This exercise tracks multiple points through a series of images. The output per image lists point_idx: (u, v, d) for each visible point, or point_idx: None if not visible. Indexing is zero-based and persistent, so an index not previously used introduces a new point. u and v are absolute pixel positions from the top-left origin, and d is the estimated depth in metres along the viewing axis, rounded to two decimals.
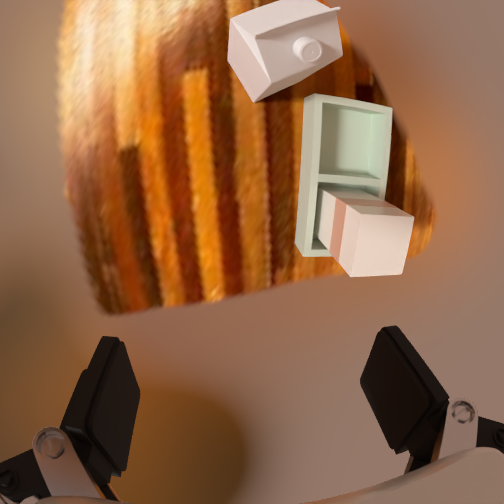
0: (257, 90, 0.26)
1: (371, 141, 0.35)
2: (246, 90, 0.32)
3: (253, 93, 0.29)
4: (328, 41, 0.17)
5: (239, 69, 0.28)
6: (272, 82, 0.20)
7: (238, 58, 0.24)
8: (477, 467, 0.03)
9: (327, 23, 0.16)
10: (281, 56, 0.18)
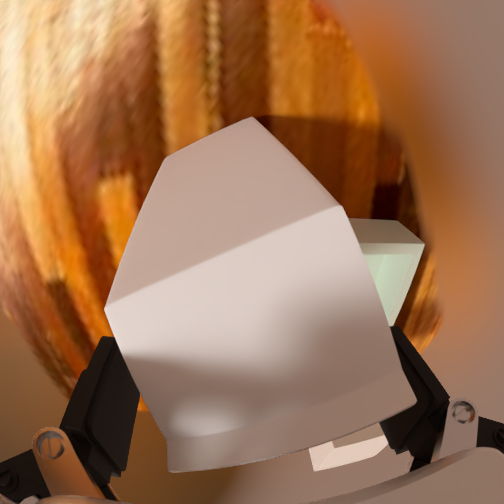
0: None
1: (382, 271, 0.26)
2: None
3: None
4: None
5: None
6: None
7: None
8: (477, 467, 0.03)
9: None
10: None
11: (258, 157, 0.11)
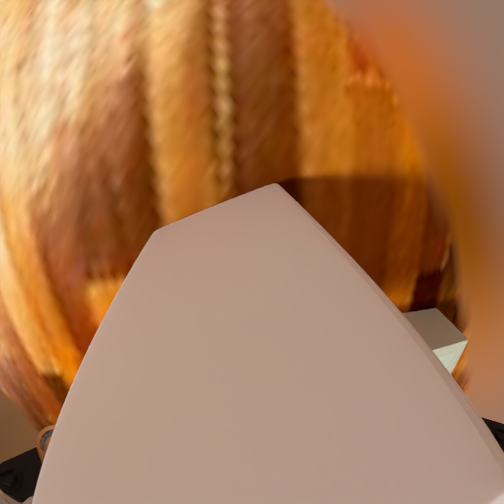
0: None
1: None
2: None
3: None
4: None
5: None
6: None
7: None
8: None
9: None
10: None
11: (303, 277, 0.06)
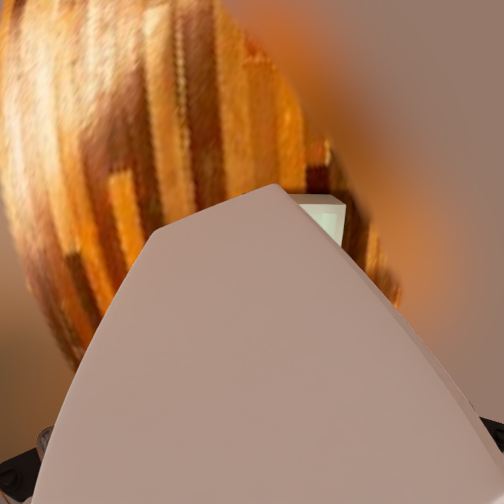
0: None
1: None
2: None
3: None
4: None
5: None
6: None
7: None
8: None
9: None
10: None
11: (302, 278, 0.06)
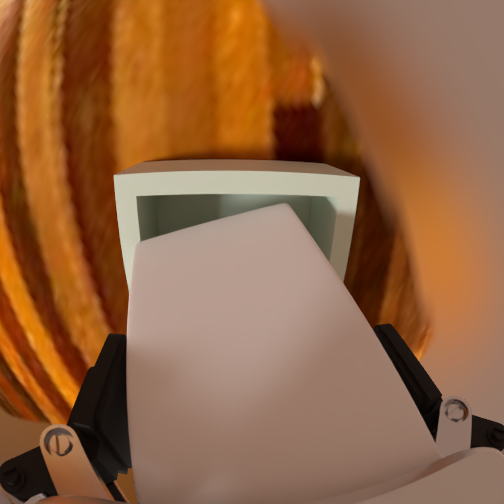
0: None
1: None
2: None
3: None
4: None
5: None
6: None
7: None
8: (477, 467, 0.03)
9: None
10: None
11: (369, 413, 0.05)
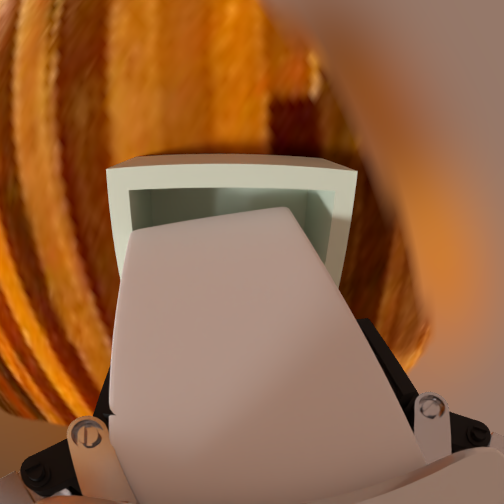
0: None
1: None
2: None
3: None
4: None
5: None
6: None
7: None
8: (477, 467, 0.03)
9: None
10: None
11: (359, 420, 0.05)
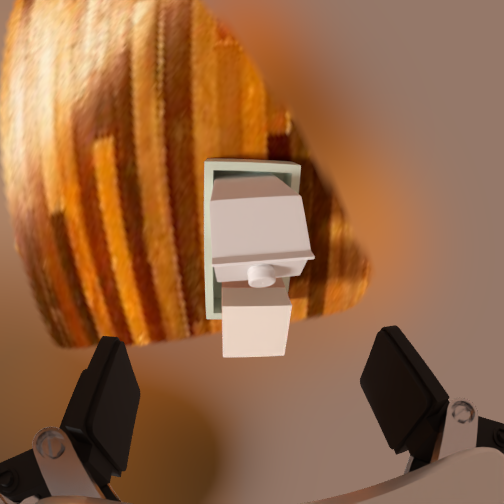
0: None
1: None
2: None
3: None
4: (288, 268, 0.23)
5: None
6: (218, 281, 0.24)
7: None
8: (477, 467, 0.03)
9: None
10: (234, 271, 0.22)
11: (274, 184, 0.27)
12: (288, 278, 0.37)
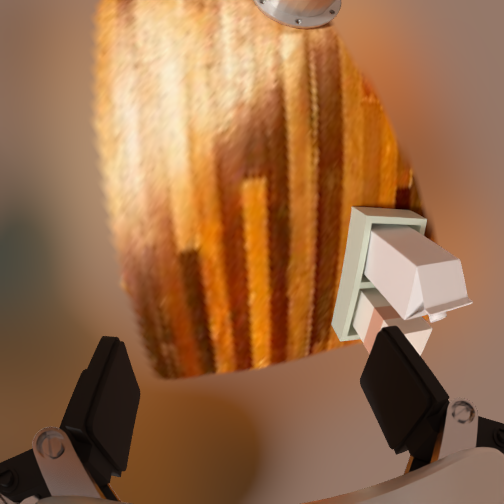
0: (378, 285, 0.35)
1: None
2: None
3: (368, 273, 0.38)
4: None
5: (372, 252, 0.37)
6: None
7: (383, 258, 0.33)
8: (477, 467, 0.03)
9: None
10: (423, 313, 0.27)
11: (427, 242, 0.31)
12: None
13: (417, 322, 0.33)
